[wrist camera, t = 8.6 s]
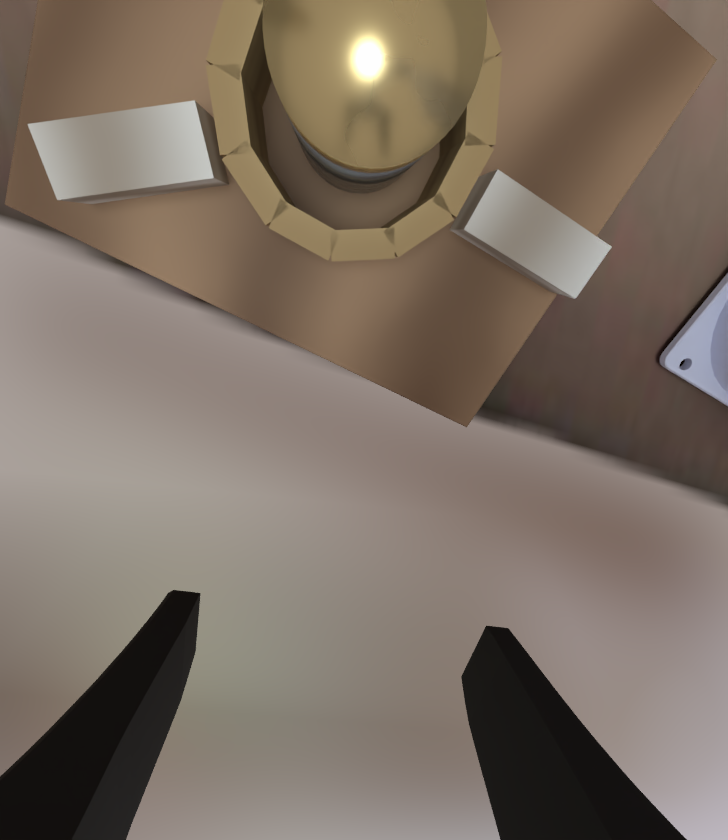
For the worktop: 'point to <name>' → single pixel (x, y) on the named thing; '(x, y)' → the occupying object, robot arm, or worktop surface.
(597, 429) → the worktop surface
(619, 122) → the shaft board
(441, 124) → the cylinder
